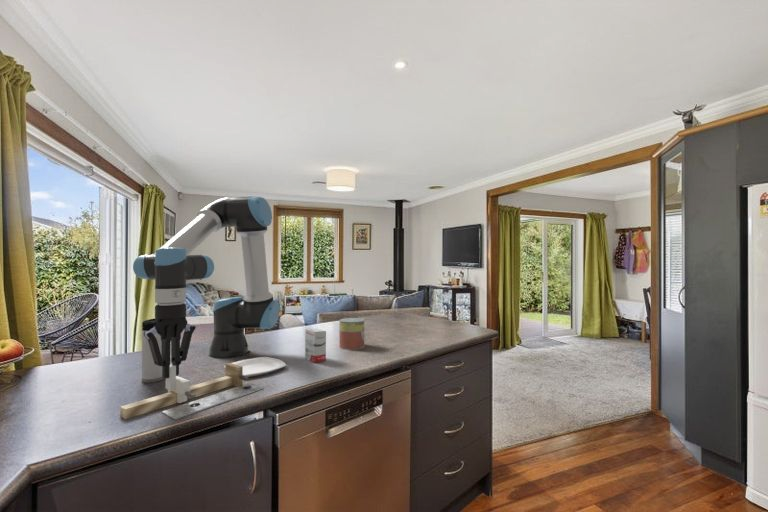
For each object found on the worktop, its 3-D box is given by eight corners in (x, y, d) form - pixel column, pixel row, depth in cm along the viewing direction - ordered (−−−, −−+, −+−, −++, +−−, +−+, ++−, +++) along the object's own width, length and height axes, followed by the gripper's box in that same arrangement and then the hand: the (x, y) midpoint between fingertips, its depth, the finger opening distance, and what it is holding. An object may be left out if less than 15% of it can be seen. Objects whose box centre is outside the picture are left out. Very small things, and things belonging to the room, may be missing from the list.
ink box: (326, 360, 142) (326, 330, 142) (315, 363, 138) (315, 332, 138) (315, 356, 148) (315, 327, 148) (304, 358, 145) (304, 328, 145)
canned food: (363, 349, 158) (363, 322, 158) (337, 349, 159) (337, 322, 159) (365, 343, 170) (365, 317, 170) (341, 343, 170) (341, 317, 170)
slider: (189, 407, 97) (189, 385, 97) (167, 397, 104) (167, 377, 104) (197, 405, 98) (197, 383, 98) (175, 395, 105) (175, 375, 105)
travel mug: (169, 377, 122) (169, 317, 122) (151, 383, 116) (151, 320, 116) (156, 375, 124) (156, 316, 125) (137, 381, 118) (137, 319, 118)
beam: (136, 426, 87) (136, 401, 87) (118, 415, 93) (118, 391, 93) (252, 386, 113) (252, 367, 113) (233, 380, 119) (233, 362, 119)
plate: (293, 370, 131) (293, 364, 131) (242, 383, 117) (242, 377, 117) (266, 359, 145) (266, 354, 145) (216, 371, 130) (216, 365, 130)
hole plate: (162, 412, 94) (162, 411, 94) (249, 384, 116) (249, 382, 116) (175, 419, 90) (175, 417, 90) (263, 388, 112) (263, 387, 112)
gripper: (151, 307, 94) (151, 399, 94) (201, 302, 104) (201, 384, 104) (138, 305, 98) (138, 393, 98) (187, 300, 109) (187, 379, 109)
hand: (170, 388), depth 101 cm, fingers closed
